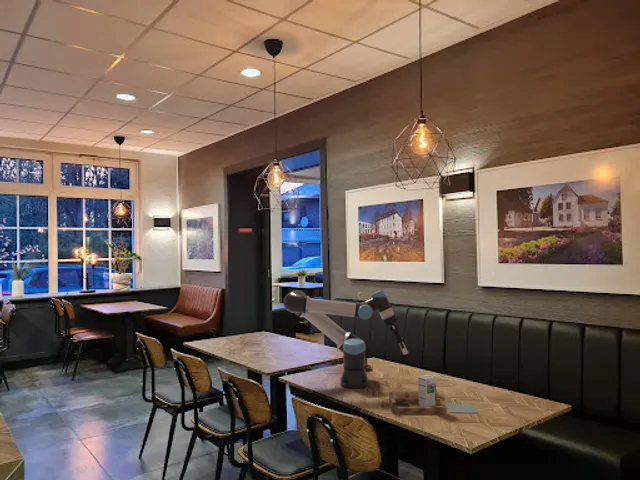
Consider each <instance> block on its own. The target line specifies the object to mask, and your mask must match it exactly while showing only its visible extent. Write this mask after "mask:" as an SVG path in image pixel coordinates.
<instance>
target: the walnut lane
mask: <svg viewBox="0 0 640 480" xmlns="http://www.w3.org/2000/svg"><path fill="white" fill-rule="evenodd" d="M388 397H389V398H388V400H389V401H388V403H389V406H390V409H391V413H392V414H399V415H402V414H407V415H408V414H409V415H410V414H411V415H412V414H413V415H417V414H418V415H419V414H420V415H447V410H448V408H447V407H446V406H437V407H419V406H410V405H419V397H395V396H394V392H391V391H390V392H389V393H388ZM436 405H441V398H440V397H436Z"/></svg>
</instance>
